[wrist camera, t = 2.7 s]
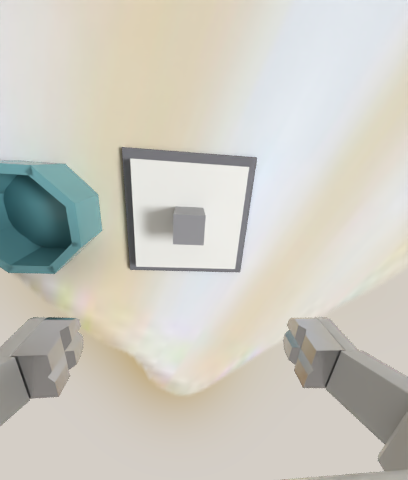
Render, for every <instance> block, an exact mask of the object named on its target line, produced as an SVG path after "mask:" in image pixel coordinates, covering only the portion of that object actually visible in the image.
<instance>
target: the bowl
mask: <svg viewBox="0 0 408 480" xmlns="http://www.w3.org/2000/svg"><path fill="white" fill-rule="evenodd" d="M101 231H102V224H101V216H100V207H99V198H98V194H97V193H96V192H95V191H94V190H93V189H92V188H91V187H89V186H88V185H87V184H86V183H85V182H84V181H83V180H82V179H81V178H80V177H79V176H78V175H76V174H75V173H74V172H73V171H72V170H71V169H70V168H69V167H68V166H67V165H66V164H57V163H43V162H28V161H0V267H1V268H2V269H4V270H5V271H7V272H8V273H47V274H55V273H56V272H57V271H58V270H60V269H61V268H62V267H63V266H64V265H65V264H67V263H68V262H69V261H70V260H71V259H73V258H74V257H75V256H76V255H77V254H78V253H80V251H81V250H82V249H83V248H84V247H85V246H87V245H88V244H89V243H90V242H91V241H92V240H93V239H94V238H95V237H96V236H97V235H98V234H99V233H100V232H101Z"/></svg>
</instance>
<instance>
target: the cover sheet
mask: <svg viewBox="0 0 408 480" xmlns="http://www.w3.org/2000/svg"><path fill="white" fill-rule="evenodd" d="M130 166H131V183H132V201H133V219H134V237H135V254H136V267H169V268H211V269H235V266H236V259H237V251H238V244H239V237H240V230H241V223H242V215H243V208H244V201H245V194H246V187H247V179H248V172H249V167H242V166H229V165H215V164H201V163H187V162H173V161H159V160H146V159H130Z"/></svg>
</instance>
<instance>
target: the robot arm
mask: <svg viewBox="0 0 408 480" xmlns="http://www.w3.org/2000/svg"><path fill="white" fill-rule="evenodd" d="M287 326H288V328H289V331H288V332H286V333H285V335H284V340H283V343H284V350H285V353H286V355H287V357H288V359H289V360H290V361H291V362H292V363H294V364H295V369H294V371H295V373H296V375H297V377H298V379H299V380H300V383H301V385H302V386H303V388H326V390H327V391H328V392H329V393H330V394H331V395H332V396H333V397H335V398H336V399H337V400H338V401H339V402H340V403H341V404H342V405H343V406H344V407H345V408H346V409H347V410H349V411H350V412H351V413H352V414H353V415H354V416H355V417H356V418H357V419H358V420H359V421H360V422H361V423H362V424H364V425H365V426H366V427H367V428H368V429H369V430H370V431H371V432H372V433H373V434H374V435H375V436H376V437H377V438H378V439H380V440H381V441H382V442H383V443H384V444H385V446H384V447H383V449H382V450H381V452H380V453H379V455H378V461H379V463H380V464H381V466H382V468H383V469H384V471H383V472H370V473H358V474H346V475H333V476H321V477H309V478H296V479H284V480H408V377H407V376H406V375H404V374H402V373H400V372H399V371H397V370H395V369H394V368H392V367H390V366H388V365H387V364H385V363H383V362H381V361H380V360H378V359H376V358H375V357H373V356H371V355H370V354H368V353H366V352H364V351H359V350H358V349H357V348H356V347H355V346H354V345H353V344H352V342H351V341H350V340H349V339H348V338H347V337H346V336H345V335H344V334H343V333H342V332H341V330H339V328H338V327H337V326H336V325H335V324H334V323H333V322H332V321H331V320H330V319H329V318H327V317H315V318H290V319H289V321H288V324H287ZM80 327H81V325H80V320H79V319H77V318H52V317H49V318H39V317H33V318H31V319H28V320H27V321H26V322H25V323H24V324H23V325H22V326H21V327H20V328H19V329H18V330H17V331H16V332H15V333H14V334H13V335H12V336H11V337H10V338H9V339H8V340H7V341H6V342H5V343H4V344H3V345H2V346H1V347H0V426H1V425H2V424H3V423H5V422H6V421H7V420H8V419H9V418H10V417H11V416H12V415H14V414H15V413H16V412H17V411H18V410H19V409H21V408H22V407H23V406H24V405H25V404H26V403H27V402H28V401H30V399H31V398H46V397H59V395H60V393H61V392H62V390H63V388H64V386H65V384H66V383H67V381H68V379H69V377H70V374H69V369H71V368H72V367H73V366H75V365H76V364H77V362H78V360H79V359H80V357H81V353H82V350H83V336H82V335H81V334H80V333H79V332H78V330H79V329H80Z"/></svg>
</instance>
